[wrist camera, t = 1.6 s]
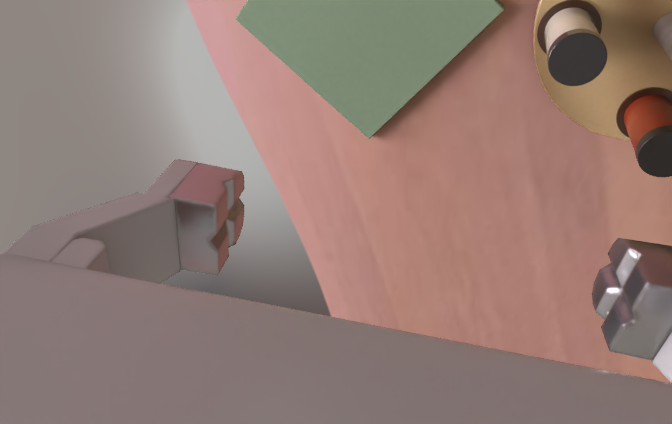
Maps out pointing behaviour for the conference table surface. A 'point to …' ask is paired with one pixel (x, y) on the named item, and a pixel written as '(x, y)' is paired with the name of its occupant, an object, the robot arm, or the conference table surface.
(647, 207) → the conference table surface
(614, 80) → the spice carousel
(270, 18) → the sage mat
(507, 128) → the conference table surface
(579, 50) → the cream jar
